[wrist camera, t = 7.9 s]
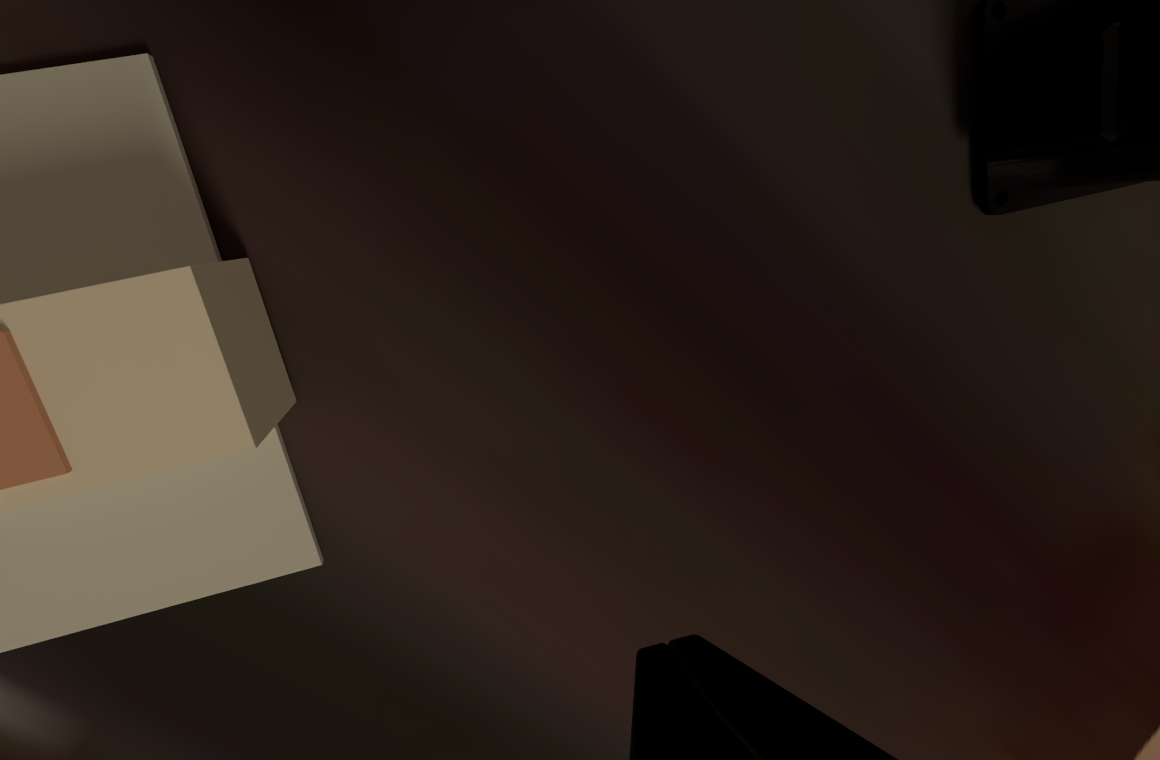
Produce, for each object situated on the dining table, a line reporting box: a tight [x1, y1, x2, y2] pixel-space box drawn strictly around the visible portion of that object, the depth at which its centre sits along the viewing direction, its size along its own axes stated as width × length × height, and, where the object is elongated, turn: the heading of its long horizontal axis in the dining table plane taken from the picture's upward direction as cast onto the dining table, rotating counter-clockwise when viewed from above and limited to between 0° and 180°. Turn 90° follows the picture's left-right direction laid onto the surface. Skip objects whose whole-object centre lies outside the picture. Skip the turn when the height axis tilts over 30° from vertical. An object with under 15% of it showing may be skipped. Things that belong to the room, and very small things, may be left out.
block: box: [0, 258, 296, 512], centre depth 14 cm, size 4×4×9 cm
